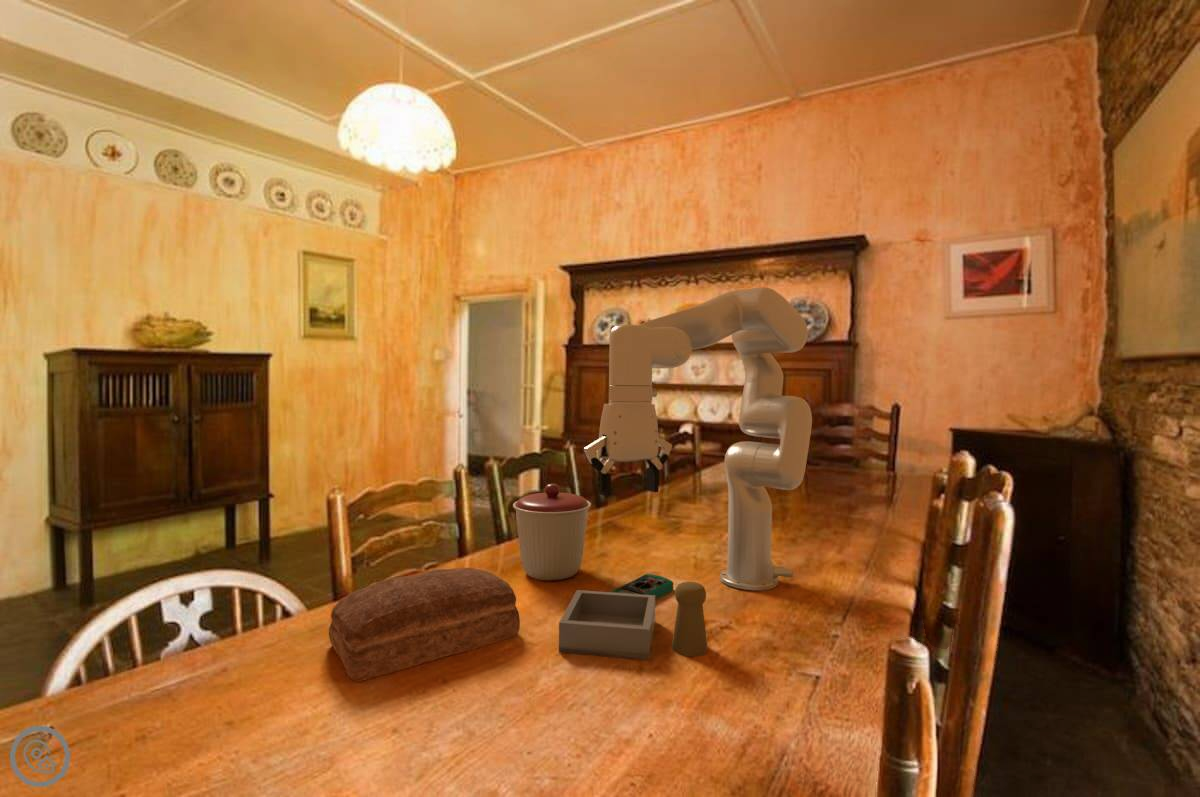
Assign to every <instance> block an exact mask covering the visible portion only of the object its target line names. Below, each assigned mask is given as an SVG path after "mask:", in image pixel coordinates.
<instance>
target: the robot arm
mask: <svg viewBox="0 0 1200 797" xmlns="http://www.w3.org/2000/svg"><path fill="white" fill-rule="evenodd" d="M730 336H731V341H732V344H733V346H734V348H735V349H736V351H737V353H738V355H739V357H740V360H741V363H742V364H743V368H744V375H745V376H744V384H743V390H742V397H741V404H740V409H739V415H738V416H739V417H738V426H739V428H740V430H741V432H743V433H744V434H746V435H747V436H753V437H759V438H770V439H778V440H780V441H779V444H778V443H777V444H776V443H767V442H759V441H748V440H747V441H739V442H736V443H733V444H731V445H730V446H729V447H728V449H727V450H726V453H725V455H724V470H725V475H726V481H727V492H728V496H727V497H728V508H727V509H728V510H727V511H728V513H727V514H728V516H727V519H728V520H727V565H726V566H727V567H726V568H725V569H724V570H723V569H722V571H721V572H720V574H719V578H720V581H721V582H722V583H724V584H725V585H726V586H729V587H732V588H734V589H735V588H736V589H739V590H745V591H767V590H771V589H774V588H775V587H777V586H778V583H779V577H784V578H794V571H793V568H788V567H786V566H785V565H775V564H774V563H773V561H772V531H773V530H772V527H773V526H772V525H773V523H772V522H773V519H772V518H773V504H772V501H771V497H770V495H769V493H768V491H767V489H766V488H772V489H777V490H778V489H779V490H785V491H791V490H795V489H797V488H798V487H799V486H800V485H801V484H802V482H803V480H804V476H805V473H806V466H807V460H808V454H809V448H810V440H811V435H812V434H811V433H812V424H813V415H812V410H811V407H810V405H809V403H808V402H807V401H806V400H805V399H804V398H802V397H800V396H795V395H782V394H783V386H784V372H783V370H782V367H781V366H780V365H779V363H778V361H777V359H776V358H775V357H774V356H773V355H772V354H790V353H791V354H792V353H795V352H797V351H800V350H802V349H803V348H804V347H805V345H806V343H807V341H808V338H809V337H808V336H809V332H808V325H807V323H806V320H805V318H803V316H802V314H801V313H800V312H799V311H798V310H797V309H796V308H795V307H794V306H793V305H792V303H790V302H789V301H788V300H787V299H786V298H785V297H784V296H783V295H781V294H780V293H779V292H777V290H775V289H772V288H770V287H765V286H763V287H754V288H746V289H745V288H744V289H737V290H730V291H727V292H724V293H722V294H720V295H717V296H715V297H713V298H711V299H708V300H706V301H704V302H702V303H699V304H696V305H695V306H691V307H688V308H684V309H682V310H679V311H676V312H673V313H670V314H666V315H663V316H660V317H657V318H654V319H650V320H648V321H645V322H643V323H640V324H621V325H615V326H614V327H612V328H611V329H610V331H609V347H608V348H609V351H608V352H609V362H608V364H609V366H608V372H609V373H608V403H604V404H603V408H602V413H601V417H600V425H599V433H598V439H596V440H594V441H593V442H591V443H589V444H588V445H586V446H585V447H584V448H583V452H584V454H585V456H586V458H587V460H588V463H589V464H590V465H591V467H592V468H593V469H594V471H595V472H596V473H597V475H596V476H597V479H596V480H597V483H596V484H597V485H596V487H597V490H598V494H599V495H600V496H603V497H605V498H609V497H611V495H612V494H611V493H612V475H611V473H609V471H610V469H612V467H613V466H614V464H615V463H616V462H617V463H621V462H622V463H623V462H624V463H625V462H627V463H628V462H639V461H640V462H642V461H644V462H646V465H647V466H648V467H646V469H645V489H646V491H649V492H653V493H658V492H659V487H660V470H662V469H663V467H664V466H663V465H665V463H666V462H667V461H668V459H669V455H670V453H671V450H673V449H672V448H673V444H672V443H671V442H668V440H665V439H663V438H662V437H660V436H659V427H658V426H659V425H658V417H657V412H656V406H655V404H654V403H652V402H653V398H656V397H657V396H658V391H657V389H653V369H675V368H678V367H681V366H682V365H684V364H686V363H687V362H688V360H689V358H690V357H691V354H692V351H693V350H698V349H703V348H706V347H711V346H714V345H715V344H717V343H719V342H721V341H722V340H724V339H726V338H728V337H730ZM659 447H660V451H659ZM596 451H597V452H598V456H599V457H600V459H599V458H598V457H597V453H596ZM765 487H766V488H765Z"/></svg>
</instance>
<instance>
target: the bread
mask: <svg viewBox="0 0 1200 797" xmlns="http://www.w3.org/2000/svg"><path fill="white" fill-rule="evenodd" d="M516 603H517V596H516V593H515V592H514V590H513V587H511V585H510V584H509V583H508V582H506V581H505V580H504V579H502V578H500V576H499V577H498V576H497V575H496V574H493V573H492V572H491V571H487V570H483V569H478V568H473V567H460V568H459V567H458V568H438V569H433V570H428V571H425V572H421V573H417V574H412V575H405V576H397V577H390V578H387V579H384V580H381V581H378V582H375V583H372V584H370V585H367V586H365V587H363V588H360V589H356V590H354V591H353V592H351V593H349V594H347V595H345V596H344V597H342V598H341V599H339V601H338V602H337V603H336V604H335V605H334V606H333V607H332V610H331V614H330V618H331V623H330V625H329V629H328V638H329V642H330V644H331V646H332V648H333V649H334V651H335V652H336V654H337V655H338V657H339V658H340V660H341V662H342V664H343V666H344V669H345V672H346V674H347V676H348V677H349V678H351V680H353V681H355V682H356V683H359V682H362V680H363V681H365V679H366V680H369V678H370V679H373V678H375V677H379V676H383V675H387V674H390V673H395V672H400V671H402V670H406V669H409V668H412V667H416V666H418V665H421V664H424V663H428V662H431V661H435V660H437V659H438V660H439V659H441V658H444V657H448V656H452V655H457V654H460V653H465V652H468V651H473V650H474V649H477V648H481V647H484V646H488V645H492V644H494V643H497V642H502V641H504V640H508V639H510V638H513V637H515V636H516V635H518V633H519V631H520V628H521V625H520V624H521V619H520V612H519V611H518V608H517V606H516ZM372 677H373V678H372Z"/></svg>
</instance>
